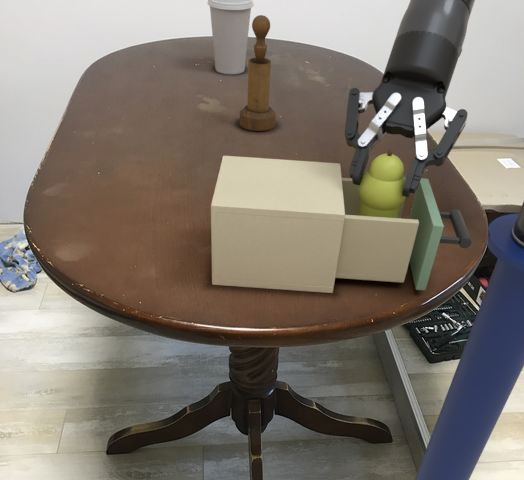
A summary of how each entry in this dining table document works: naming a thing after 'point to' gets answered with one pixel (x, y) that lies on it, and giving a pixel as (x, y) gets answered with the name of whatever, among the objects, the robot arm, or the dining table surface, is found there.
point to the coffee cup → (230, 34)
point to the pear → (382, 187)
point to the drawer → (395, 239)
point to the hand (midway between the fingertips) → (380, 188)
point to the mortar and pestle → (258, 83)
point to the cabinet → (277, 224)
